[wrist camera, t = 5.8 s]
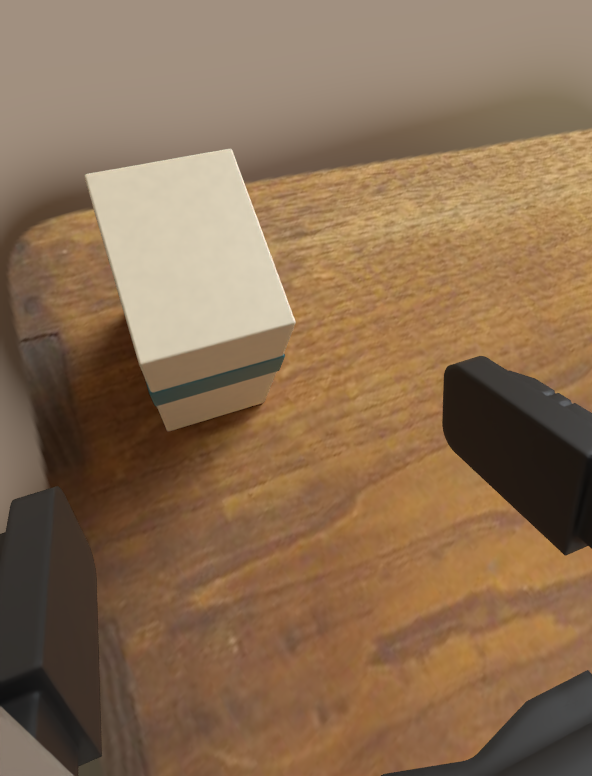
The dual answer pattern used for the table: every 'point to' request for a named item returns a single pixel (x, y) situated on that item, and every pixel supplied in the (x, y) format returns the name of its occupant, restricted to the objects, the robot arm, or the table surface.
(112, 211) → the box
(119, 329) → the table surface
